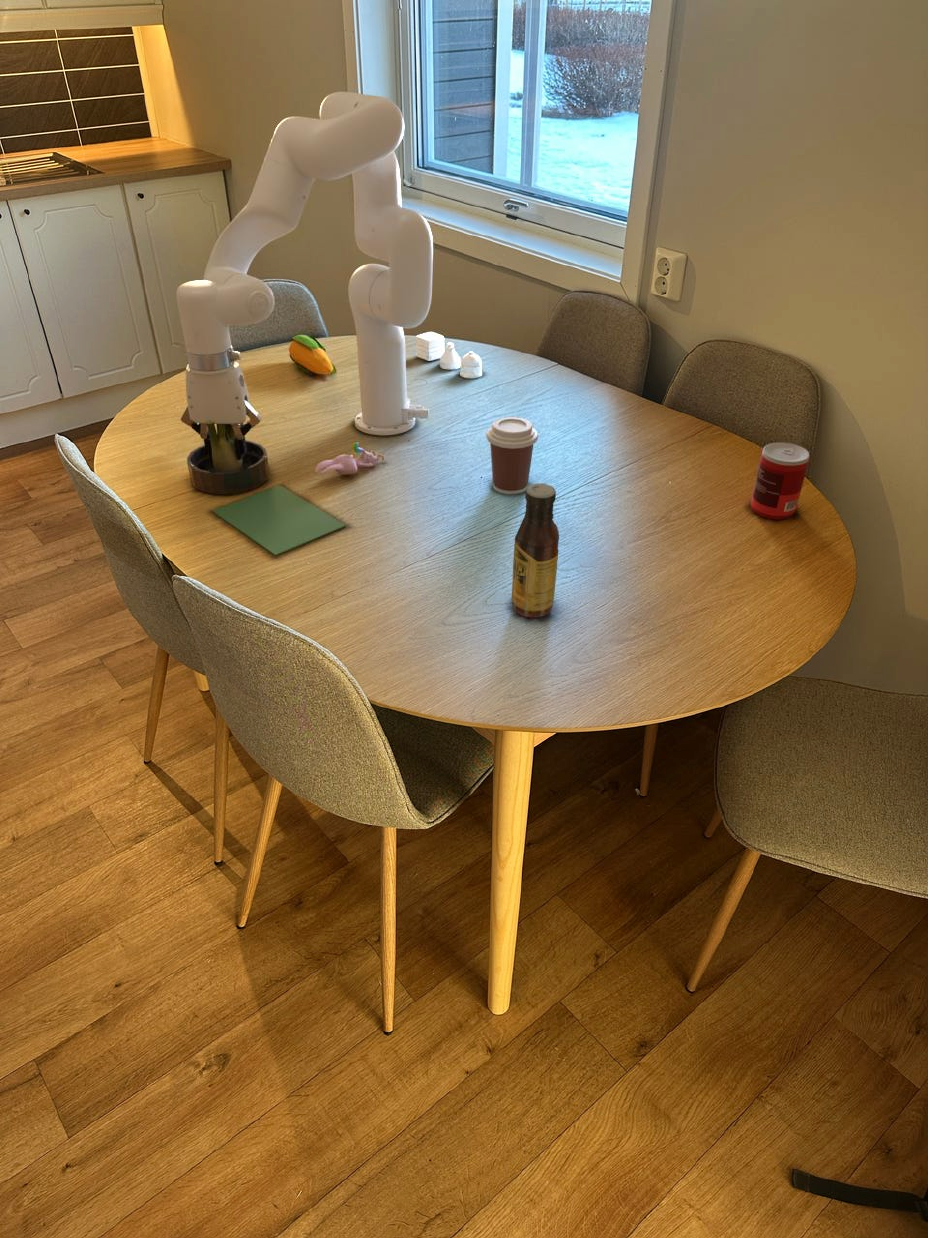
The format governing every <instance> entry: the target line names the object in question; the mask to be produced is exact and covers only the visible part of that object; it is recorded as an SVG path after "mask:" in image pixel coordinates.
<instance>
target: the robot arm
mask: <svg viewBox="0 0 928 1238" xmlns="http://www.w3.org/2000/svg"><path fill="white" fill-rule="evenodd" d="M404 119H405V118H404V116H403V113H402V111H401V109H400V108H399V106H398V105H397V104H396V103H395V102H394V101H393V100H391V99H389V98H387V97H385V96H379V95H372V94H364V93H359V92H351V91H335V92H333V93H330V94H328V95H327V96H326V97H325V98H324V99H323V100H322V102H321V105H320V109H319V118H312V117H308V116H307V117H306V116H289V117H286V118H284V119H282V121H280V123H279V124H278V125H277V127H276V128H275V131H274V133H273V136H272V138H271V140H270V143H269V146H268V149H267V150H266V151H267V152H266V154H265V157H264V159H263V162H262V165H261V168H260V171H259V172H258V176H257V178H256V181H255V184H254V186H253V189H252V192H251V194H250V197H249V199H248V202H247V204H245V206H244V207H243V208H242V209H241V210H240V211H239V212H238V213H237V214H236V215H235V216H234V218H233V219H232V220H231V221H230V223H228V224H227V226H226V227H225V228H224V229H223V231H222V232H221V234H220V235H219V237H217V239H216V242H215V243H214V245H213V248H212V251H211V253H210V255H209V259H208V261H207V264H206V267H205V270H204V274H203V279H202V280H201V279H200V280H191V281H188V282H184V283H182V284H180V285H179V286H178V287H177V289H176V294H175V296H176V303H177V309H178V313H179V319H180V325H181V329H182V336H183V340H184V345H185V351H186V356H187V361H188V364H187V365H186V367H185V393H186V402H187V406H186V408H185V409H184V412H183V413H182V415H181V416H180V421H181V422H182V423H183V424H185V425H186V426H187V427H190V428H191V429H192V430H193V431H194V432H196V433H197V434H198V435H199V436H200V437H199V438H201V439H202V440H203V443H204V444H203V445H205V450H206V453H208V454H209V459H212V460H213V458H212V446H211V440H210V435H209V430H208V426H207V422H208V421H209V423H211V422H214V424H215V425H216V424H231V425H232V428H233V430H234V433H235V436H236V438H235V440H234V444H235V450H236V456H237V459H238V460H242V458H243V456H244V454H246V452H247V447H246V441H247V440H246V435H248V433H249V432H250V431H251V430H252V429H253V428H255V427H256V426H257V425H259V424H260V422H261V421H262V417H261V415H259V413H258V412H257V411H256V410H255V409H254V408H253V406H251V401H250V396H249V392H248V387H247V384H246V379H245V376H244V374H243V370H242V367H241V365H240V363H239V362H238V361H241V360H242V352H241V351H235V350H234V346H233V345H232V341H231V334H230V329H229V327H230V326H243V325H244V326H245V325H246V326H247V325H255V324H259V323H262V322H264V321H265V320H266V319H268V318H269V317H270V316H271V315H272V313H273V311H274V309H275V303H276V301H275V300H276V299H275V295H274V292H273V290H272V289H271V287H270V286H269V285H268V284H267V283H266V282H264V281H263V280H261V279H260V278H257V277H255V276H252V275H249V274H247V273H248V271H249V268H250V267H251V264H252V262H253V260H254V258H255V257H256V255H257V254H258V253H259V252H260V251H261V250H262V249H263V248H264V247H265V246H266V245H268V244H269V243H271V242H273V241H275V240H277V239H279V238H282V237H284V236H286V235H288V234H290V233H291V232H293V231H294V230H295V229H297V227H298V225H299V223H300V220H301V217H302V215H303V212H304V210H305V206H306V205H307V201H308V199H309V196H310V194H311V191H312V189H313V186H314V183H315V181H316V179H318V180H322V181H335V180H339V179H342V178H344V177H347V176H349V175H351V176H352V184H353V187H352V188H353V219H354V220H353V221H354V222H353V223H354V226H353V227H354V240H355V244H356V246H357V248H358V249H359V250H360V251H361V252H362V254H364V255H366V256H368V257H370V258H374V259H377V260H380V261H383V262H387V263H388V266H387V265H384V264H379V263H367V264H363V265H361V266H360V267H358V268H357V269H356V270H355V271H354V272H353V273H352V275H351V277H350V279H349V282H348V287H347V288H348V289H347V292H348V295H347V296H348V301H349V306H350V310H351V314H352V317H353V322H354V327H355V337H356V349H357V351H356V353H357V364H358V365H357V366H358V379H359V392H360V394H359V395H360V409H361V412H359V413H358V414H357V415H356V416H355V417H354V426H355V428H356V429H357V430H359V431H360V432H362V433H365V434H368V435H374V436H394V435H399V434H402V433H406V432H408V431H410V430H411V429H412V428H413V427H415V426H416V419H423V420H424V419H425V420H427V419H428V420H429V417H430V409H429V408H425V406H424V405H413V404H411V398H410V397H408V389H407V365H406V364H407V363H406V361H407V360H406V338H405V332H404V329H414V328H417V327H419V326H420V325H421V324H422V323H423V322H425V320H426V318H427V317H428V314H429V312H430V309H431V305H432V298H433V297H432V294H433V272H434V271H433V270H434V269H433V268H434V267H433V265H434V239H433V233H432V230H431V227H430V224H429V223H428V221H427V219H426V218H425V217H424V216H423V215H422V214H421V213H419V212H417V210H416V211H415V209H410V208H406V207H403V205H402V188H401V187H402V186H401V172H400V164H399V162H398V161H399V160H398V157H397V155H396V153H395V151H396V149H398V147H399V146H400V144H401V142H402V140H403V138H404V133H405V120H404ZM247 417H248V418H249V420H247ZM246 420H247V421H246ZM245 440H246V441H245Z"/></svg>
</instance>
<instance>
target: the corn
mask: <svg viewBox="0 0 928 1238" xmlns="http://www.w3.org/2000/svg"><path fill="white" fill-rule="evenodd" d="M290 340H291V342H290V344H289V346H288V352H289V358H290V360H291V361H292V362H293V363H294V364H296V365H297V366H298V368H300V369H302V370H303V371H304V372H306V373H308V374H310V375H314V373H315V374H318V375H336V374H337V373H338V371H337V367H336V366H335V365H334V363H333V362H332V361H331V360H330V358H329V356H328V355H327V353H326V352H327V350H326V348H325V347H324V345H323V343H321V342H320V341H319V340H318V339H317V338H316V337H314V336H312V335H306V334H296V335H295V336H292V337H291V339H290Z"/></svg>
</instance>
